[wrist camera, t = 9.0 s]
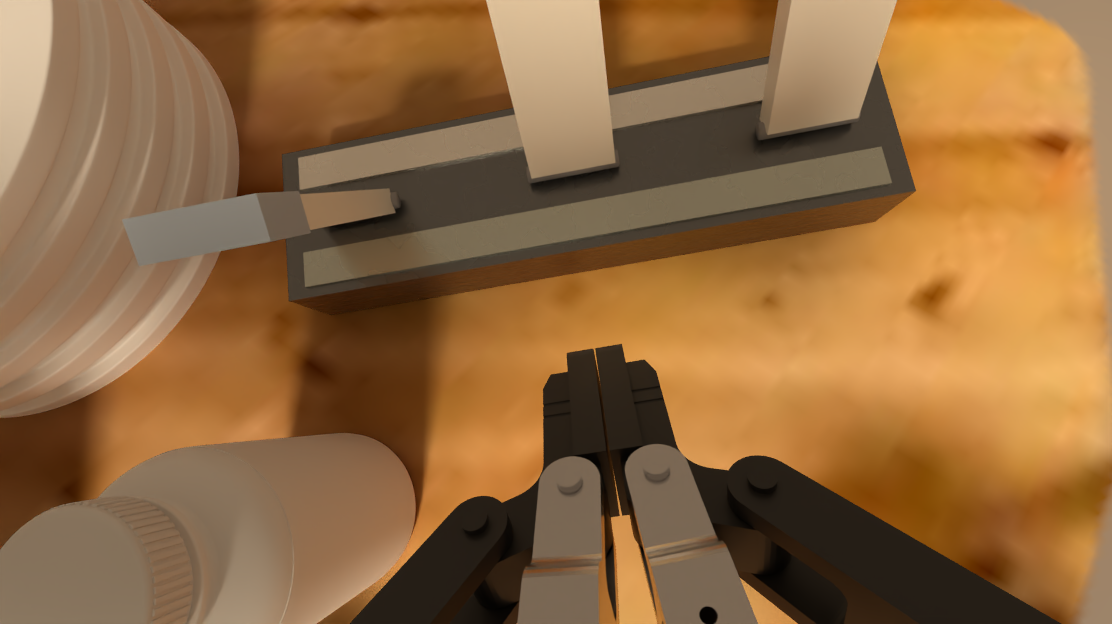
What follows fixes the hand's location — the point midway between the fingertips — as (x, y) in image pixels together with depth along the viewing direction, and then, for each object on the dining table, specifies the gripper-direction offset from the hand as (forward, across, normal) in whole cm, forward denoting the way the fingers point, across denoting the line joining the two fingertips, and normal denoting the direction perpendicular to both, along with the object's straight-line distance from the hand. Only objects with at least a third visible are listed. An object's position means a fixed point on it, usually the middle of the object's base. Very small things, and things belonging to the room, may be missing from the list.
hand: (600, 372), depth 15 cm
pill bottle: (+7, -15, -13) cm, 21 cm away
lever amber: (+14, 0, +1) cm, 14 cm away
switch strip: (+17, 0, -2) cm, 17 cm away
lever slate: (+14, -11, +1) cm, 18 cm away
